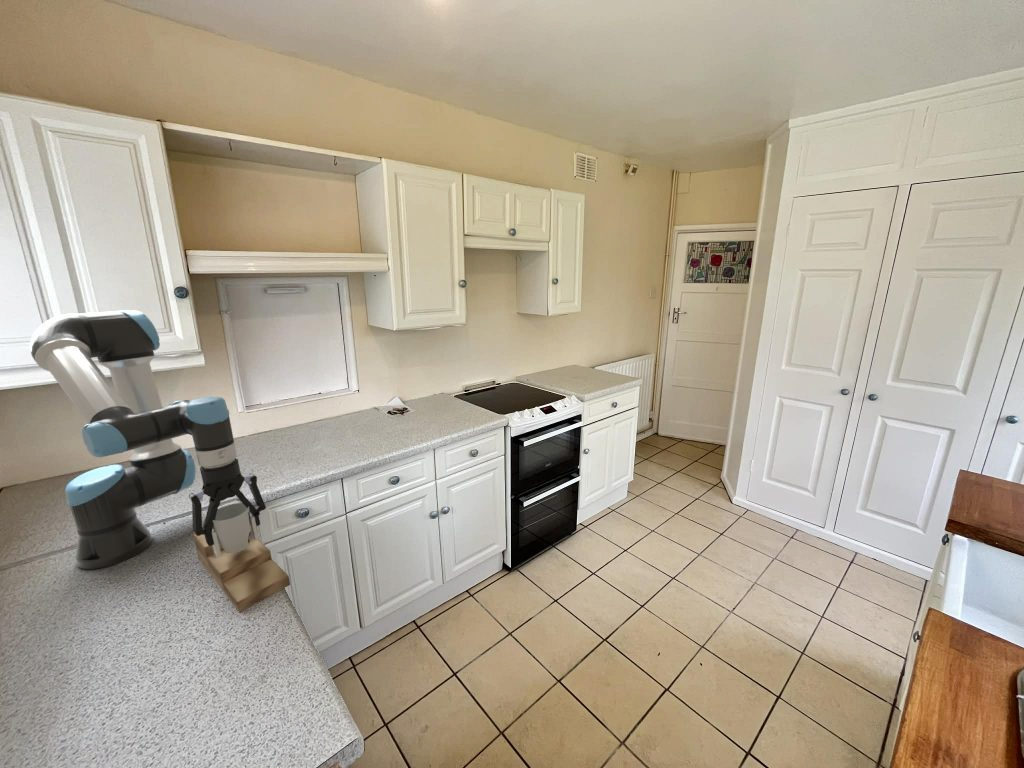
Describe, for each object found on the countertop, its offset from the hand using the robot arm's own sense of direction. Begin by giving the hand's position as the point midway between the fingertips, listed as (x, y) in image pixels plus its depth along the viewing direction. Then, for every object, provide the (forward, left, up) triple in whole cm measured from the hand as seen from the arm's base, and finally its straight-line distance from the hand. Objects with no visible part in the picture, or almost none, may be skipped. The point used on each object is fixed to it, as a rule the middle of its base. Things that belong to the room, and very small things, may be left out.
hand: (237, 545), depth 104 cm
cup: (0, 0, 0) cm, 0 cm away
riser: (0, 0, -7) cm, 7 cm away
